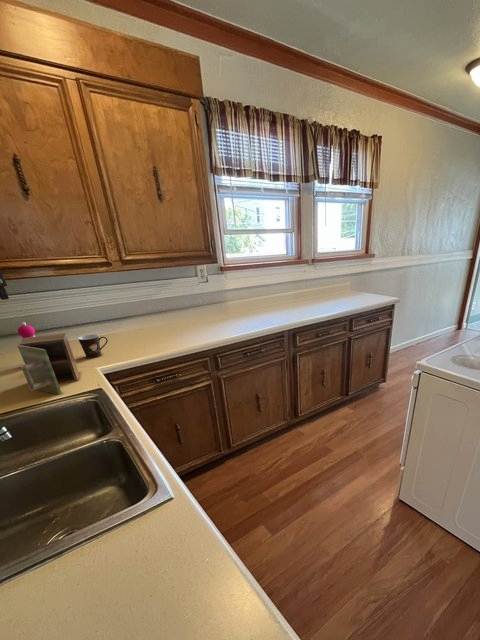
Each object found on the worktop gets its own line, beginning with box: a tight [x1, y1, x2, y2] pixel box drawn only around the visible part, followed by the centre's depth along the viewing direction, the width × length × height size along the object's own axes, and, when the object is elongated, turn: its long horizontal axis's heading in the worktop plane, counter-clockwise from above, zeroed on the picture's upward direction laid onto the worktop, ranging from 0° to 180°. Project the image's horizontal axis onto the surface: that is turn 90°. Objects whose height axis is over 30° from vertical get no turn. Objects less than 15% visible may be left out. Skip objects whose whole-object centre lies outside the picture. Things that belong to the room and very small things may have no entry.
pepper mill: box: [17, 321, 36, 341], centre depth 148 cm, size 7×7×20 cm
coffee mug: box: [77, 334, 108, 359], centre depth 161 cm, size 12×9×10 cm
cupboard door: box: [17, 344, 63, 395], centre depth 119 cm, size 8×14×18 cm, turn 68°
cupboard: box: [18, 332, 80, 385], centre depth 132 cm, size 10×14×18 cm
